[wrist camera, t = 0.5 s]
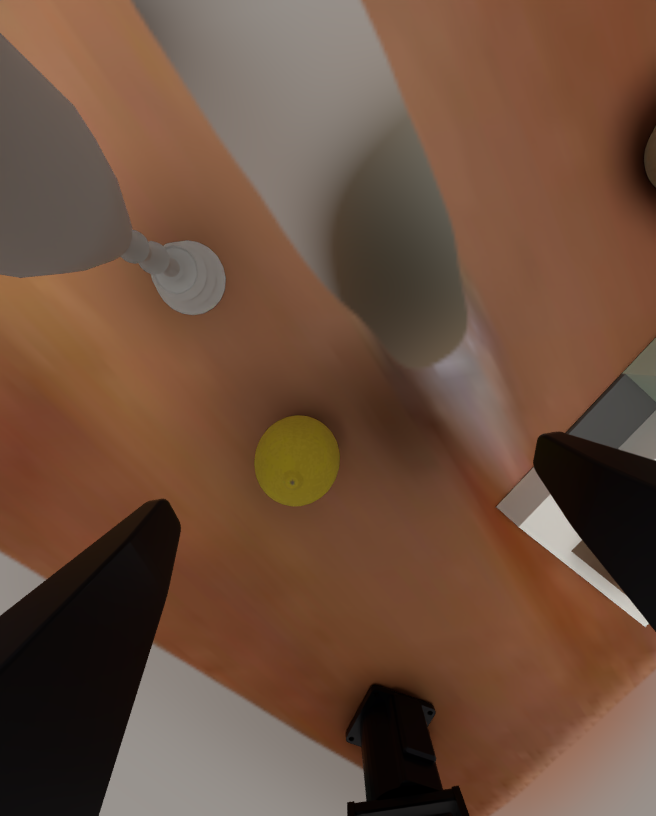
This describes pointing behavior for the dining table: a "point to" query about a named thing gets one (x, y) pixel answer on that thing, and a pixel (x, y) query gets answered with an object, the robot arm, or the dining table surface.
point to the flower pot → (651, 158)
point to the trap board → (605, 424)
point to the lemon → (297, 460)
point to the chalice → (77, 198)
